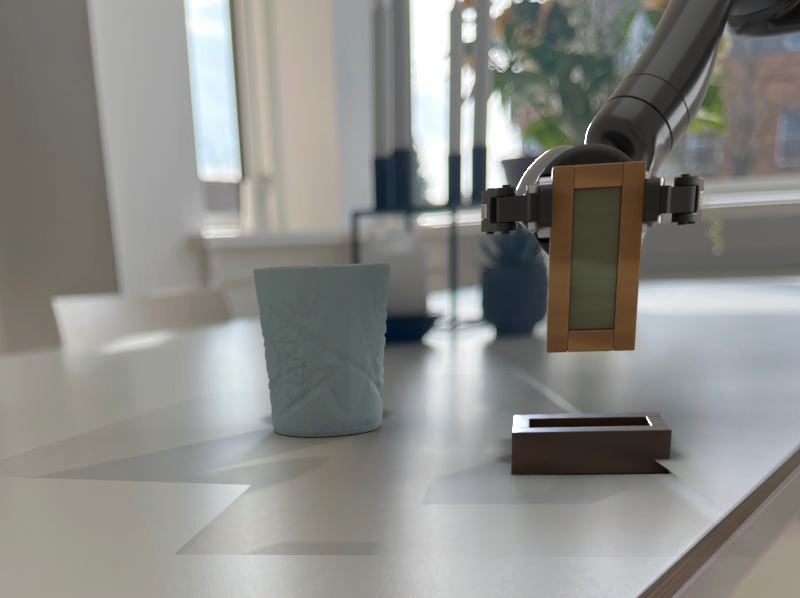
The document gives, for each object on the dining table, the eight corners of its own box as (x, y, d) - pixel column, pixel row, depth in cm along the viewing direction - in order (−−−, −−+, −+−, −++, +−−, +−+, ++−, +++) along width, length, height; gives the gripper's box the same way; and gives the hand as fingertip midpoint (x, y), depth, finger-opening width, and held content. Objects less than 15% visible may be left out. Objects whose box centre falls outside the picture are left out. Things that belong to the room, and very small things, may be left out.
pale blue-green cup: (243, 437, 78) (230, 269, 74) (293, 415, 87) (284, 264, 83) (371, 439, 75) (365, 263, 70) (409, 416, 83) (406, 258, 79)
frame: (546, 348, 63) (551, 168, 59) (631, 345, 62) (642, 163, 58) (546, 352, 61) (552, 166, 57) (634, 350, 60) (646, 160, 56)
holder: (513, 453, 67) (513, 414, 66) (656, 451, 66) (659, 412, 65) (511, 474, 61) (511, 432, 61) (669, 473, 60) (672, 429, 59)
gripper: (688, 260, 71) (731, 270, 56) (479, 269, 74) (464, 281, 59) (698, 140, 69) (745, 116, 53) (480, 154, 71) (465, 135, 56)
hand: (598, 203), depth 56 cm, fingers closed on frame, 5 cm apart
